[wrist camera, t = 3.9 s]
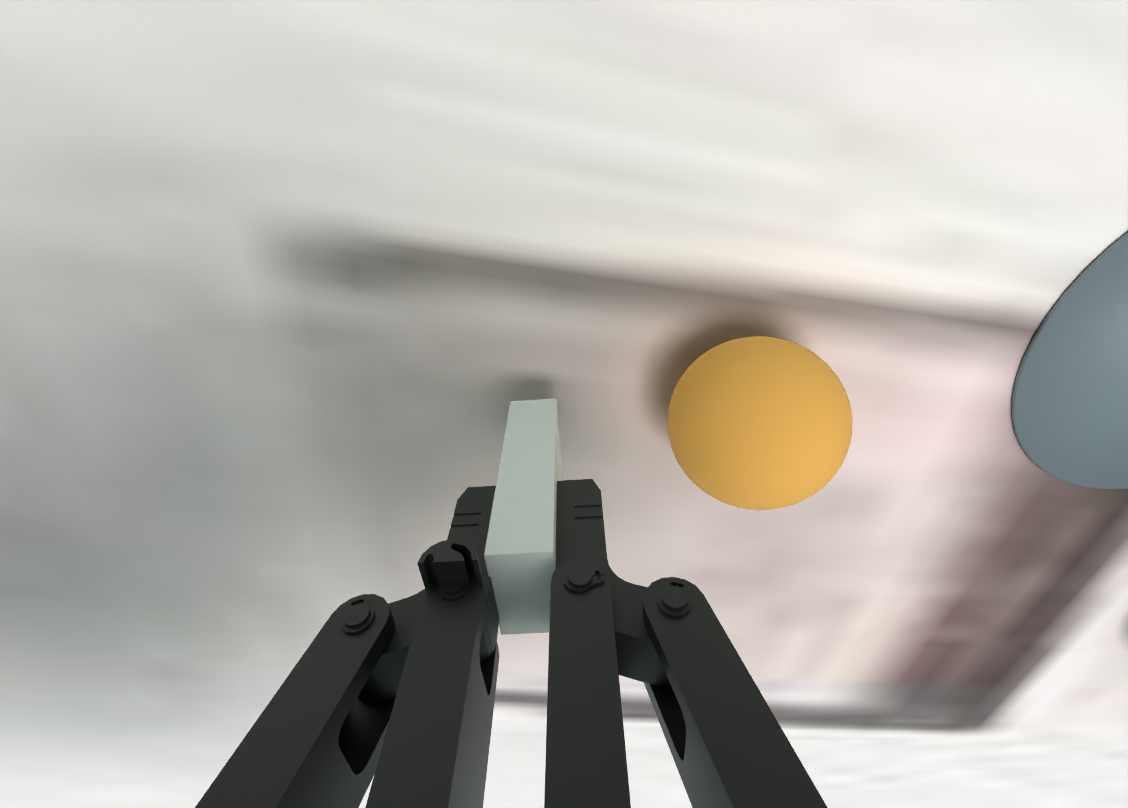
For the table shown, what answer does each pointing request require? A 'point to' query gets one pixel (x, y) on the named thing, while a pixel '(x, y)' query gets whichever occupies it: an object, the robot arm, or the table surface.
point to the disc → (1080, 380)
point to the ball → (759, 422)
